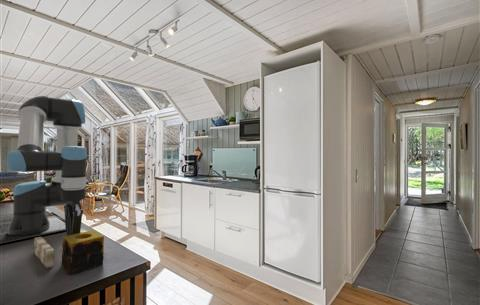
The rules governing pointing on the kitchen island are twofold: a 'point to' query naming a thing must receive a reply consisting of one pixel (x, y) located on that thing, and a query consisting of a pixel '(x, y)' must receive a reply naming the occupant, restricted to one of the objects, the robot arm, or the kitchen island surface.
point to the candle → (82, 251)
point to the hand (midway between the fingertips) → (72, 253)
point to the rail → (44, 252)
